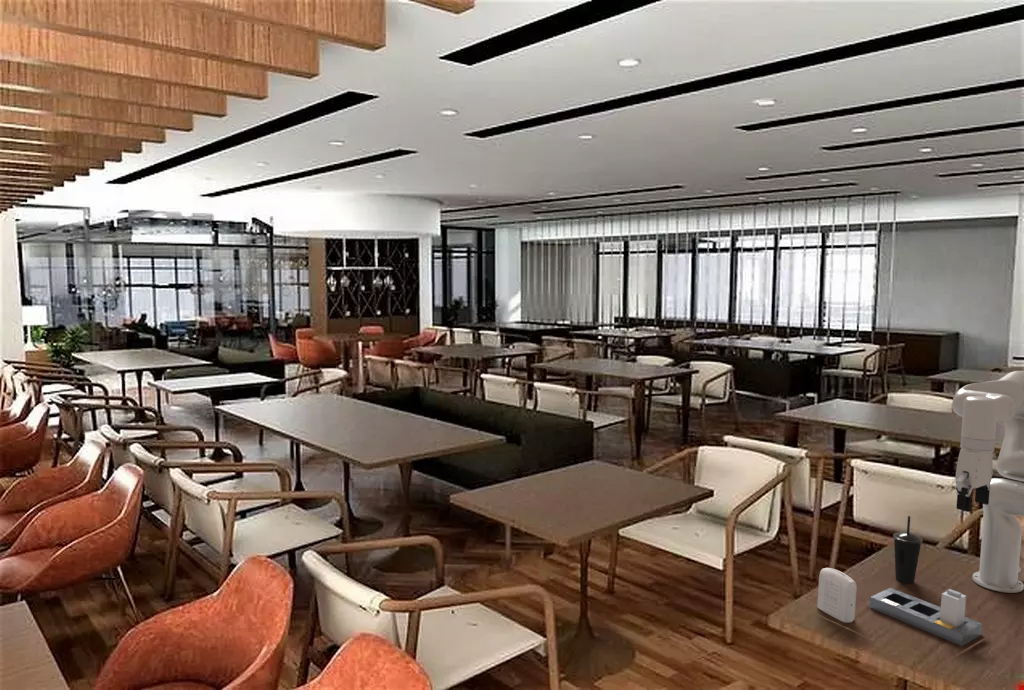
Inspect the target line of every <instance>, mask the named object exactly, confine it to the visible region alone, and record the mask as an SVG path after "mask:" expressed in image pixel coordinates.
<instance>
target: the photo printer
mask: <svg viewBox="0 0 1024 690" xmlns="http://www.w3.org/2000/svg"><path fill="white" fill-rule="evenodd" d="M857 586H858V585H857V583H856V582H855V580H854V579H852V578H851V577H850V576H849V575H847V574H846V573H844V572H842V571H840V570H838V569H835V568H831V567H825V568H822V569H821V570H820V572H819V576H818V590H817V591H818V593H817V602H816V604H817V608H818V609H819V610H820V611H822V612H824V613H826V615H827V614H828V615H829V616H831V617H833V618H835V619H836V620H839V621H840V622H842V623H853V621H854V620H855V617H856V616H855V615H856V601H857V600H856V599H857V588H858V587H857Z"/></svg>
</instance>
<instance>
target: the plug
mask: <svg viewBox="0 0 1024 690" xmlns="http://www.w3.org/2000/svg"><path fill="white" fill-rule="evenodd" d="M940 601H941V602H940V607H941V611H940V621H942V622H945V623H947V624H950V625H952V626H955V627H956V628H959V627H961V626H963V625H964V618H965V617H966V615H965V614H966V606H967V605H966V603H967V595H965V594H964V593H963V594H962V592H959V591H957V590H954V589H951V588H949V589H947V590H946V591H944V592H942V593H941V600H940Z"/></svg>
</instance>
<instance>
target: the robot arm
mask: <svg viewBox="0 0 1024 690" xmlns="http://www.w3.org/2000/svg"><path fill="white" fill-rule="evenodd" d="M951 407H952V409H953V412H954V413H955V414H956V415H958V417H962V420H961V430H960V431H961V432H960V446H959V448H960V450H959V454H958V458H957V463H956V464H957V465H956V470H955V478H954V483H955V486H956V487H955V490H956V509H957V510H959V511H964V512H971V507H972V496H971V495H972V491H973V490H975V496H974V502H975V503H977V504H978V503H979V504H982V512H983V519H982V520H983V521H982V532H981V534H982V535H981V543H980V544H981V545H980V558H979V569H978V571H975V572H974V573H972V580H973V582H975V584H977V585H979V586H981V587H983V588H986V589H988V590H991V591H995V592H1000V593H1007V594H1009V593H1010V594H1014V593H1015V594H1016V593H1020V592H1023V590H1024V583H1023V582H1022V581H1021V580H1020V579H1018V578H1019V573H1020V572H1021V571H1022V568H1021V566H1020V556H1021V546H1022V535H1023V534H1022V533H1023V529H1022V526H1021V524H1020V522H1019V520H1018V518H1017V517H1018V516H1019V517H1023V518H1024V370H1014V371H1011V372H1009V373H1006V375H1004V376H1002V377H1001V378H999V379H997V380H988V381H982V382H974V383H973V382H972V383H970V384H966V385H964V386H962V387H961V388H960V389H958V390H957V392H955V394H954V396H953V399H952V406H951ZM997 423H1002V424H1004V429H1005V430H1004V431H1005V432H1004V437H1003V441H1002V445H1001V446H1000V451H999V454H998V457H997V462H996V470H997V472H998V473H999V475H1001V476H1002V477H1004V478H1000V477H999V478H998V477H993V475H994V470H993V453H994V452H995V447H996V446H995V445H996V444H995V443H996V434H997V433H996V432H997ZM1016 516H1017V517H1016Z"/></svg>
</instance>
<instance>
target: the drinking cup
mask: <svg viewBox="0 0 1024 690" xmlns="http://www.w3.org/2000/svg"><path fill="white" fill-rule="evenodd" d="M906 523H907V524H906V526H907V527H906V531H899V532H895V533H893V534H892V536H893V541H894V544H893V545H894V568H895V569H894V570H895V571H894V572H895V573H894V574H895V580H896V581H897V582H900V583H903V584H908V585H910V584H915V579H916V573H917V567H918V562H919V556H920V553H921V546H922V543H923V538H922V537H921V536H919V535H918V534H916V533H912V532H911V531H910V528H911V516H910V515H908V516H907V522H906Z"/></svg>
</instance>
